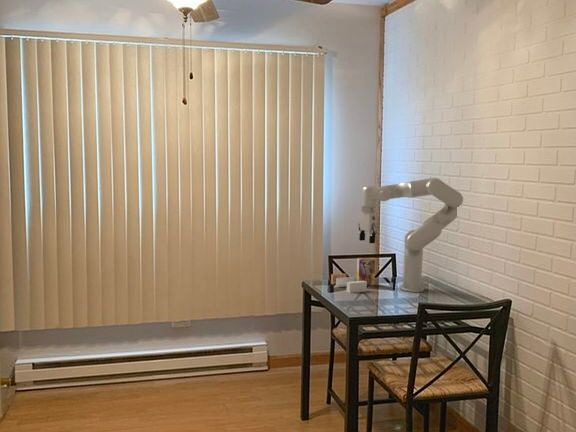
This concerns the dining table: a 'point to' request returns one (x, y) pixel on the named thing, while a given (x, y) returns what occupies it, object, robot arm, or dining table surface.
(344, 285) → the sliding jaw
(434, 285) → the dining table surface
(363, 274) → the candy box
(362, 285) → the vise base
